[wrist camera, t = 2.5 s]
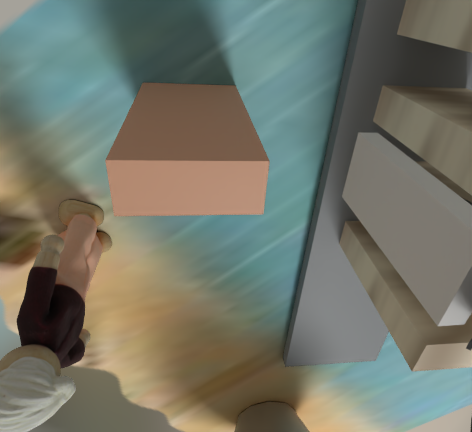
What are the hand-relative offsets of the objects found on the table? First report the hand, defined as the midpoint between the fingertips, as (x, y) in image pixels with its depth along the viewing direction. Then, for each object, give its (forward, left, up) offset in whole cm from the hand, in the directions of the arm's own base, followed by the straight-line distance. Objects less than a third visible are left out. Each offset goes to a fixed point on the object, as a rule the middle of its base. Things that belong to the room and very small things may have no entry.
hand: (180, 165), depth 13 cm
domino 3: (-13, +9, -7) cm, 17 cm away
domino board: (-13, +8, -8) cm, 18 cm away
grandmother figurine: (+7, +9, -9) cm, 14 cm away
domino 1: (0, 0, -8) cm, 8 cm away
